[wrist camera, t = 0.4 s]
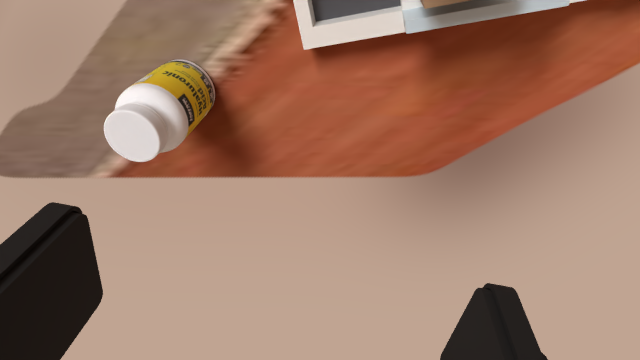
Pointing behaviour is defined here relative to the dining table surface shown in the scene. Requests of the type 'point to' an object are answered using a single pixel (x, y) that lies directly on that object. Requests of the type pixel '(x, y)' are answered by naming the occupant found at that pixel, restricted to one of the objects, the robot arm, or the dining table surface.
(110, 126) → the supplement bottle
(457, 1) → the walnut block
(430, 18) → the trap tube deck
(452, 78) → the dining table surface
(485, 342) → the robot arm
